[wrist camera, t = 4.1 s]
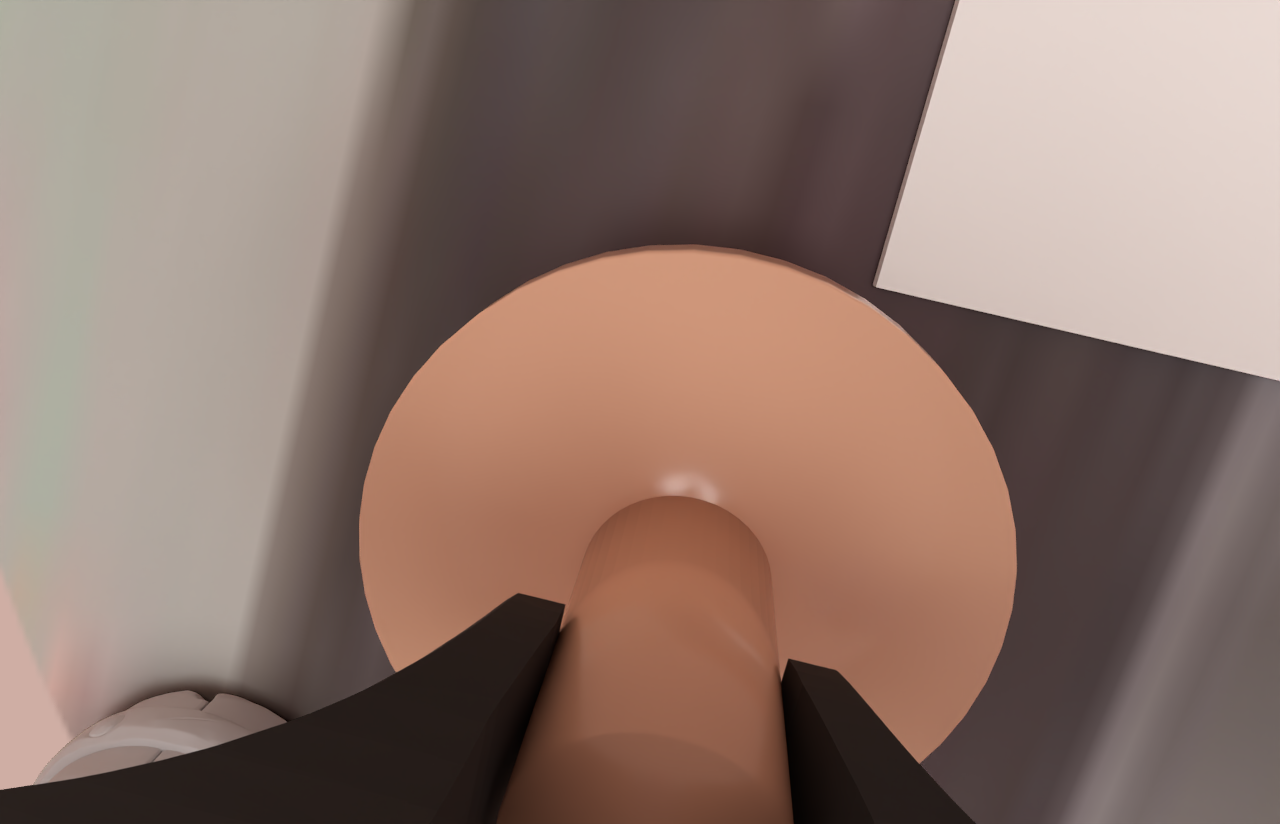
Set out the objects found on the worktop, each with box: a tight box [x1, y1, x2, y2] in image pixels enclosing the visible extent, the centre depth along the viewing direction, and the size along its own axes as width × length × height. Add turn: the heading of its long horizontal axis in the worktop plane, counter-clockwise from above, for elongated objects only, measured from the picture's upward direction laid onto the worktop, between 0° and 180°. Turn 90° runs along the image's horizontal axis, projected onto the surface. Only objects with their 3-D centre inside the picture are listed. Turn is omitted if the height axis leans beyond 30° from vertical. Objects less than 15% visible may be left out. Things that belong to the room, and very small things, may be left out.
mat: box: [873, 0, 1280, 381], centre depth 17 cm, size 12×10×1 cm
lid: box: [359, 244, 1017, 824], centre depth 11 cm, size 10×10×6 cm
